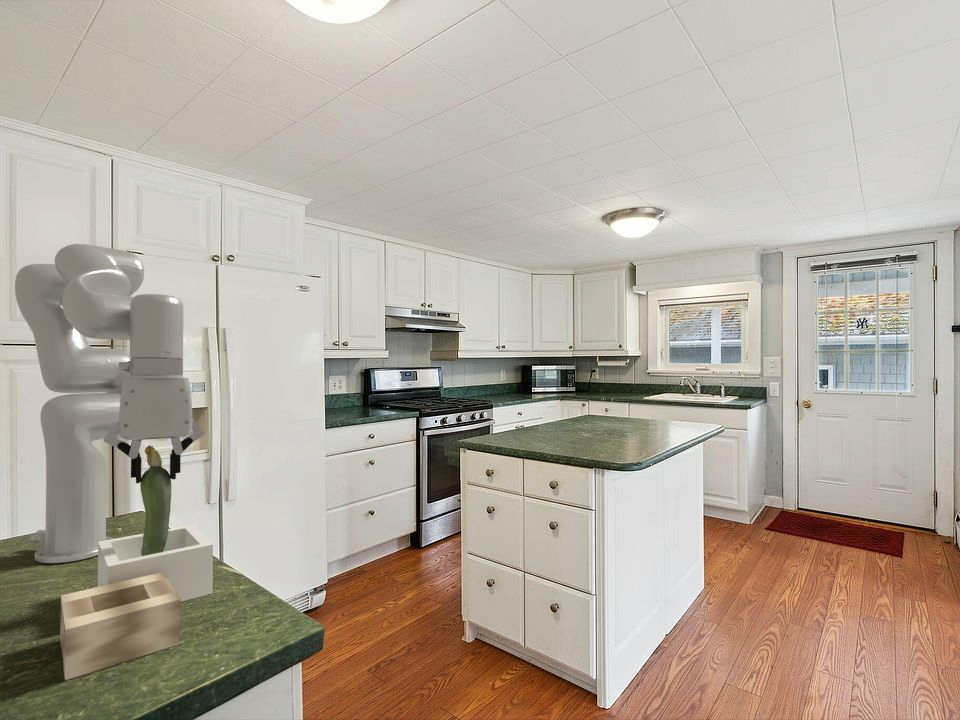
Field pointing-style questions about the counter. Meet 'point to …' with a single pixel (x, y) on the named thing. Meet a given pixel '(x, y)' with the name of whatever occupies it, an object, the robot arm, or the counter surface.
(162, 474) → the vegetable
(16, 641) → the counter surface
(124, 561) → the bin
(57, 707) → the counter surface
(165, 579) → the holder
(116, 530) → the counter surface
